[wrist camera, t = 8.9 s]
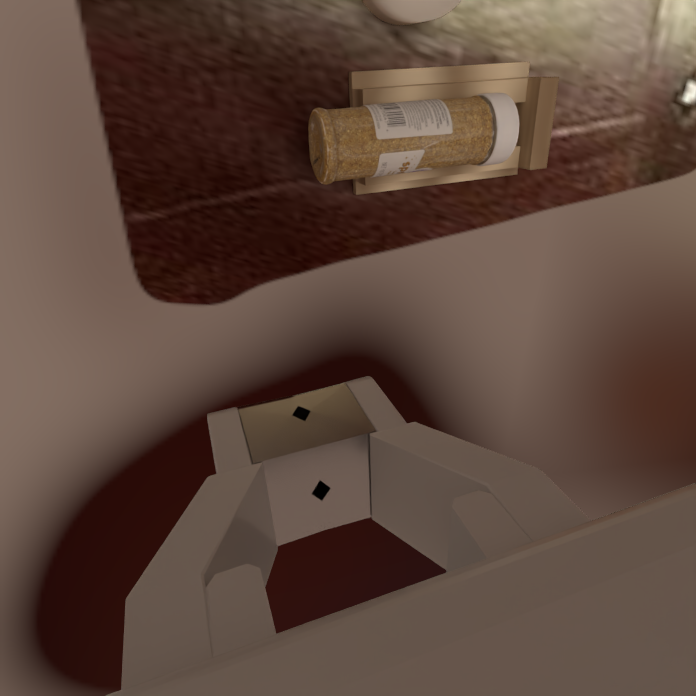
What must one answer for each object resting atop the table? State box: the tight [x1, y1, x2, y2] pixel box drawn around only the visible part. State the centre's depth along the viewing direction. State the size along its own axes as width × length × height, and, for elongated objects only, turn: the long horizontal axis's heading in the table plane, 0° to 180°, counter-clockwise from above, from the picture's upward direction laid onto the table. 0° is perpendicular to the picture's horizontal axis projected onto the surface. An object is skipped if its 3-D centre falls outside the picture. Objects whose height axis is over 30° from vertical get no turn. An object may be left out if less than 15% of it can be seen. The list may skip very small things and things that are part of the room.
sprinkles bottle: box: [308, 93, 519, 184], centre depth 33 cm, size 5×5×13 cm
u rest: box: [349, 62, 559, 195], centre depth 36 cm, size 14×8×4 cm, turn 93°
